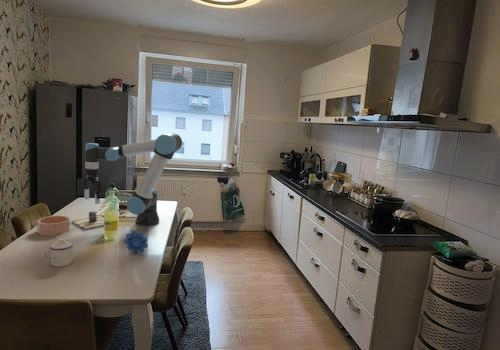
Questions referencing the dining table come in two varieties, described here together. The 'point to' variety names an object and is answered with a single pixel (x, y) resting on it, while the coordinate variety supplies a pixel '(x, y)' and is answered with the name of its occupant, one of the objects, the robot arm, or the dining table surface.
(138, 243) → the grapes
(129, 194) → the food container
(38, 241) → the dining table surface
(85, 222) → the oak lid
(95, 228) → the slate mat
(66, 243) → the teacup with lid
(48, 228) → the terracotta bowl
